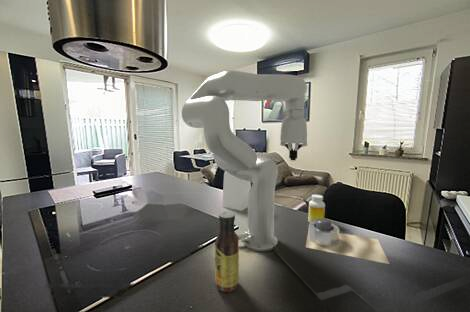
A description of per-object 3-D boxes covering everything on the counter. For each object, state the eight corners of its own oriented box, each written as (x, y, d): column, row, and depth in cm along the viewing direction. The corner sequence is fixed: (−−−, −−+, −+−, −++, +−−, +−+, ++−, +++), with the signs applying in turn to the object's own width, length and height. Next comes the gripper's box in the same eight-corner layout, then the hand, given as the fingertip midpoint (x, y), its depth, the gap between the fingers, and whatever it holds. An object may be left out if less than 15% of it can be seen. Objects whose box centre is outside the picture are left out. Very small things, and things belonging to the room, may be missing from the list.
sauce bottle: (215, 277, 59) (214, 209, 57) (237, 276, 59) (237, 208, 57) (215, 295, 52) (214, 219, 50) (240, 293, 53) (240, 218, 51)
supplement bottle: (325, 228, 89) (327, 198, 88) (309, 226, 90) (310, 197, 89) (322, 221, 96) (323, 194, 94) (307, 220, 97) (308, 193, 96)
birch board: (305, 250, 72) (305, 247, 72) (308, 230, 87) (308, 227, 87) (389, 267, 63) (389, 264, 63) (377, 242, 78) (377, 239, 77)
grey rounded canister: (322, 241, 74) (323, 225, 73) (312, 234, 79) (313, 219, 78) (334, 239, 76) (334, 222, 75) (323, 232, 81) (324, 217, 80)
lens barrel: (321, 249, 71) (322, 234, 71) (303, 235, 80) (303, 222, 80) (344, 243, 74) (345, 230, 74) (324, 231, 84) (324, 219, 83)
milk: (251, 204, 119) (251, 158, 116) (241, 211, 109) (241, 161, 106) (233, 201, 125) (233, 157, 122) (222, 206, 115) (221, 159, 112)
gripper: (273, 115, 85) (273, 160, 87) (313, 113, 79) (311, 162, 81) (278, 116, 92) (277, 158, 94) (314, 115, 86) (313, 160, 88)
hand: (293, 160), depth 87 cm, fingers closed
